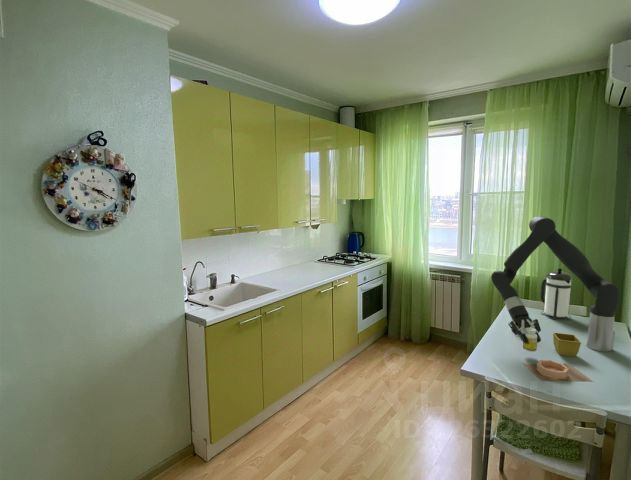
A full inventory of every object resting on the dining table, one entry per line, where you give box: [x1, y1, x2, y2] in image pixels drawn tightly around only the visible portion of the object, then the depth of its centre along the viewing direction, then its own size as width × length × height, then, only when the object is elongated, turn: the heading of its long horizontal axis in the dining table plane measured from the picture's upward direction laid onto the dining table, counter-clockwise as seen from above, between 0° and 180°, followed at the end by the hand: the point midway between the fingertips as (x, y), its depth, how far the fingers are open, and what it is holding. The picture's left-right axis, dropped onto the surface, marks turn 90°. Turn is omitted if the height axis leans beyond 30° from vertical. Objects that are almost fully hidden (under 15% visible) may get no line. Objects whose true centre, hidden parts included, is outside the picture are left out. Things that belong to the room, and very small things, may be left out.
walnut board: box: [523, 363, 594, 382], centre depth 146 cm, size 20×14×1 cm
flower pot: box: [552, 332, 582, 357], centre depth 162 cm, size 9×9×9 cm
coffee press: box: [540, 267, 573, 321], centre depth 210 cm, size 17×16×30 cm
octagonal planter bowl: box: [536, 359, 569, 379], centre depth 146 cm, size 10×10×3 cm
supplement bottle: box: [522, 327, 538, 353], centre depth 159 cm, size 5×5×10 cm
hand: (532, 342), depth 157 cm, fingers closed on supplement bottle, 5 cm apart
